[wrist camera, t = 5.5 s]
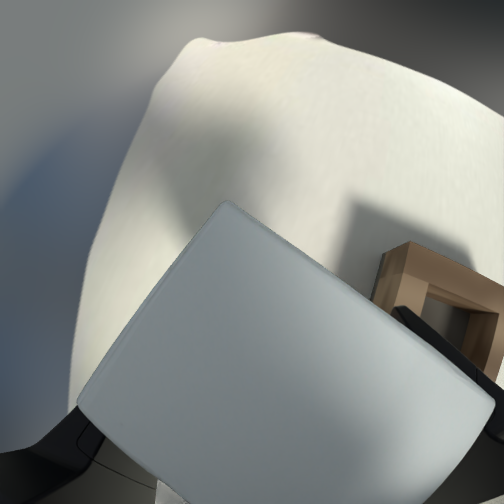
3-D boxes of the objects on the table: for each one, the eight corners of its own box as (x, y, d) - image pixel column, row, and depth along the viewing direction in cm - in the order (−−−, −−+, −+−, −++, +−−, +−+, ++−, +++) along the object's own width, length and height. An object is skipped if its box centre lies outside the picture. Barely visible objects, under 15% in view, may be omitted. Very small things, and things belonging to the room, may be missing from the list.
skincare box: (344, 341, 14) (506, 403, 3) (296, 401, 14) (351, 567, 2) (256, 277, 15) (223, 183, 4) (208, 338, 15) (64, 411, 3)
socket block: (443, 422, 18) (470, 439, 13) (330, 402, 20) (346, 426, 15) (484, 297, 20) (516, 293, 15) (382, 253, 22) (410, 240, 17)
